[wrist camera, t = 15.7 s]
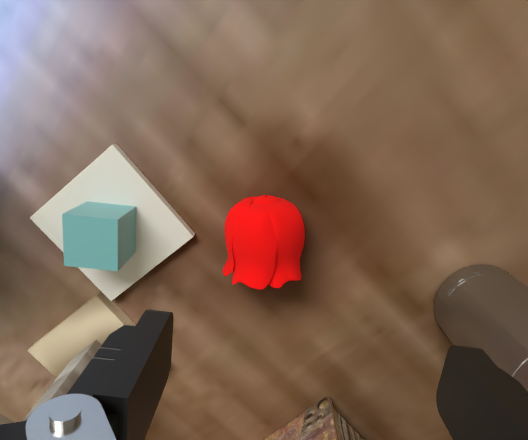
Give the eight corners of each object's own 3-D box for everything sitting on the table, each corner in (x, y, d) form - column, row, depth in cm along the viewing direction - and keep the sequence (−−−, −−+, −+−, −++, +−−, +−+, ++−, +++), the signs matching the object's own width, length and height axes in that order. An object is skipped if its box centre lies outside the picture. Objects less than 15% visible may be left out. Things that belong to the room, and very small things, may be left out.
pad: (195, 233, 42) (193, 236, 41) (114, 296, 45) (110, 301, 44) (116, 143, 40) (112, 144, 39) (35, 215, 42) (29, 217, 41)
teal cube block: (136, 206, 41) (117, 219, 36) (135, 252, 42) (117, 271, 37) (87, 201, 41) (62, 214, 36) (88, 247, 42) (64, 265, 37)
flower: (323, 201, 36) (317, 284, 38) (284, 187, 43) (281, 258, 45) (240, 205, 33) (239, 296, 35) (213, 190, 40) (213, 266, 41)
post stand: (168, 358, 47) (135, 436, 36) (101, 405, 49) (51, 494, 38) (101, 289, 44) (44, 350, 33) (35, 342, 47) (-40, 417, 35)
